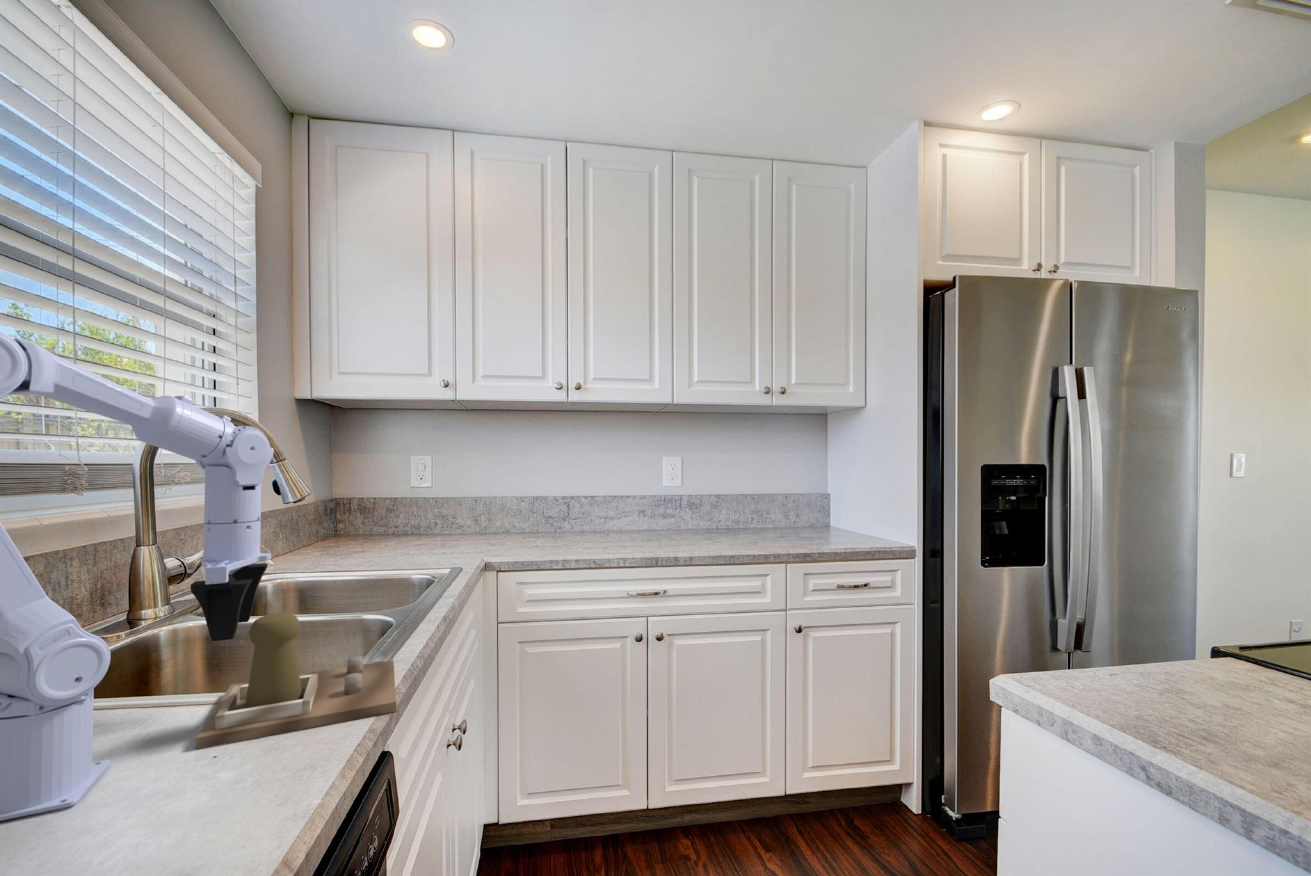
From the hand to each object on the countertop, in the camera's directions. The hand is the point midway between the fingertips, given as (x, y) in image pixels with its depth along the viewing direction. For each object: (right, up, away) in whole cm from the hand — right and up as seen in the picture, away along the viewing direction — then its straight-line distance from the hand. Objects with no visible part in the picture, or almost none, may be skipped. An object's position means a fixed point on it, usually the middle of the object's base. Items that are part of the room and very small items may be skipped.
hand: (231, 630), depth 71 cm
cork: (+6, -9, 0) cm, 11 cm away
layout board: (+8, -10, +3) cm, 13 cm away
